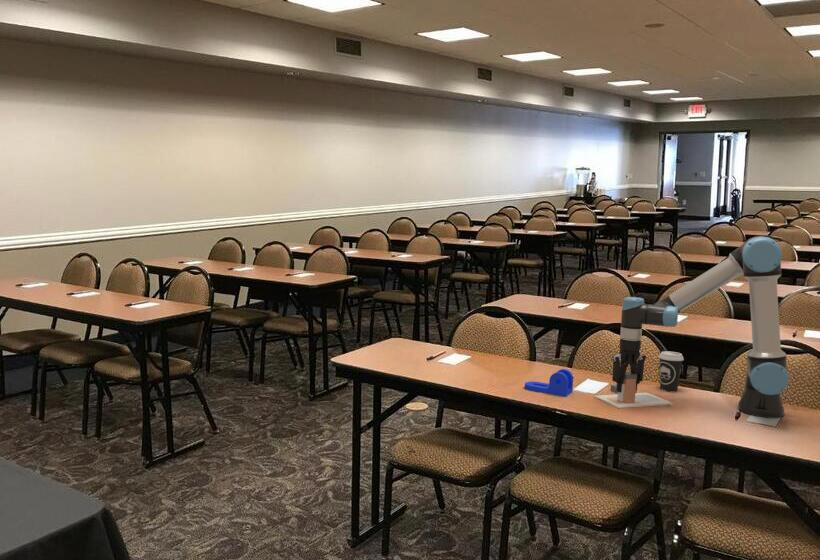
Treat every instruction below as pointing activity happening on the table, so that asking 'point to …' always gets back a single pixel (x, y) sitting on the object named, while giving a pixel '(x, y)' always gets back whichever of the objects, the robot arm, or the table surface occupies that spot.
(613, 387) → the button housing
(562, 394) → the bracket
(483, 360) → the table surface
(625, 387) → the lidded container
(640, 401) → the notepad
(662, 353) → the coffee cup
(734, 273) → the robot arm
